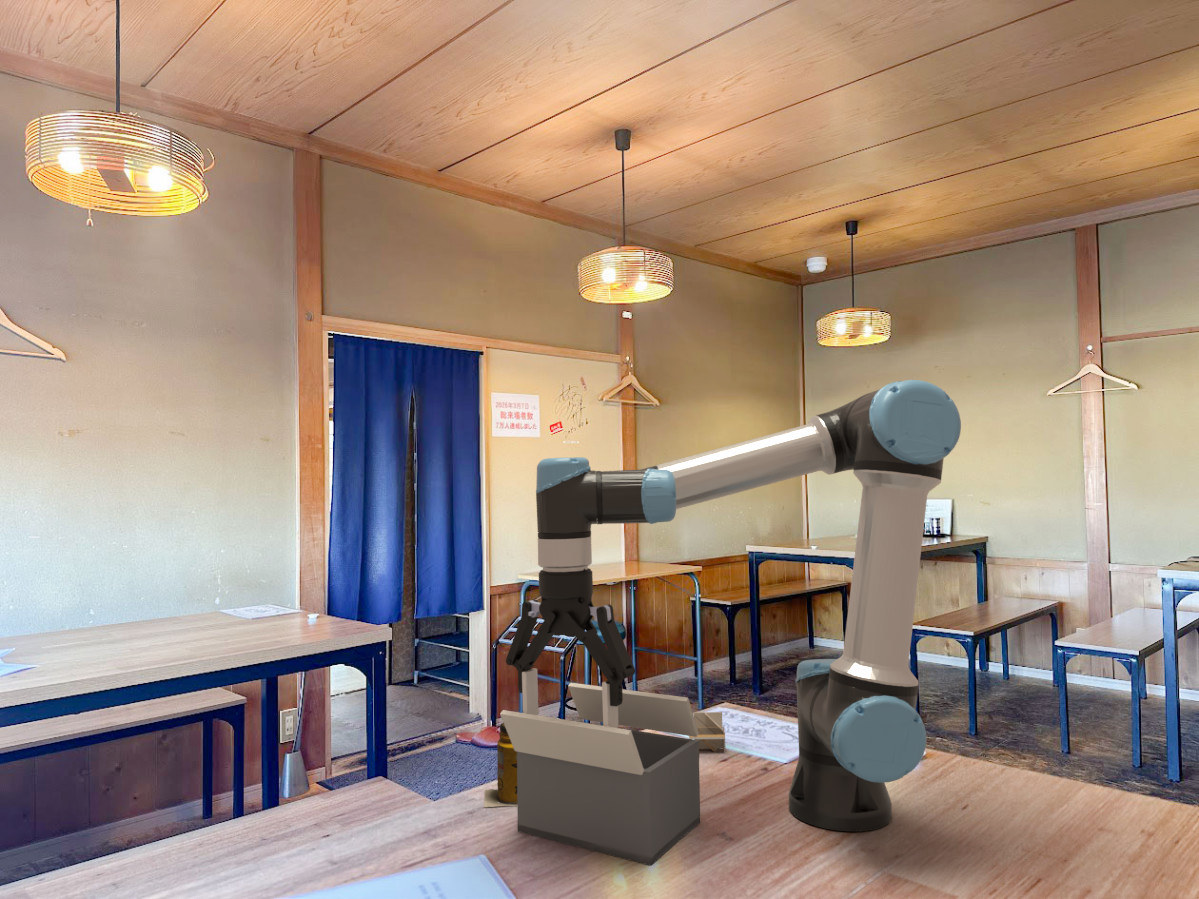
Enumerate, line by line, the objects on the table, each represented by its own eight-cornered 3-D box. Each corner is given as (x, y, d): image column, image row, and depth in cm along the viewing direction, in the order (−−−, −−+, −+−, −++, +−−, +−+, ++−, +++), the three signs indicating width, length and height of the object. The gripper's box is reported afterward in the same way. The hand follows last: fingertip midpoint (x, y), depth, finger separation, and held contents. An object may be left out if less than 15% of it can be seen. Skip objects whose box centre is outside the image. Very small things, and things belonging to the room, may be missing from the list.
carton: (700, 822, 117) (698, 740, 118) (650, 865, 103) (649, 772, 104) (576, 795, 128) (576, 721, 129) (517, 831, 115) (517, 747, 116)
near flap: (631, 730, 102) (628, 734, 101) (644, 770, 104) (641, 775, 103) (503, 709, 112) (499, 713, 112) (517, 747, 115) (514, 751, 114)
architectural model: (726, 756, 149) (725, 716, 149) (690, 757, 149) (689, 717, 149) (724, 751, 152) (723, 712, 152) (688, 751, 152) (687, 712, 153)
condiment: (537, 804, 125) (537, 728, 126) (484, 808, 124) (484, 731, 125) (535, 788, 132) (534, 716, 133) (484, 791, 131) (484, 718, 132)
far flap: (696, 737, 119) (698, 733, 119) (686, 701, 116) (688, 697, 117) (580, 718, 129) (582, 715, 130) (568, 685, 127) (570, 682, 127)
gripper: (656, 567, 106) (661, 727, 105) (511, 562, 119) (515, 704, 118) (629, 574, 100) (634, 744, 99) (479, 568, 113) (482, 718, 112)
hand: (569, 723), depth 108 cm, fingers closed on near flap, 13 cm apart
